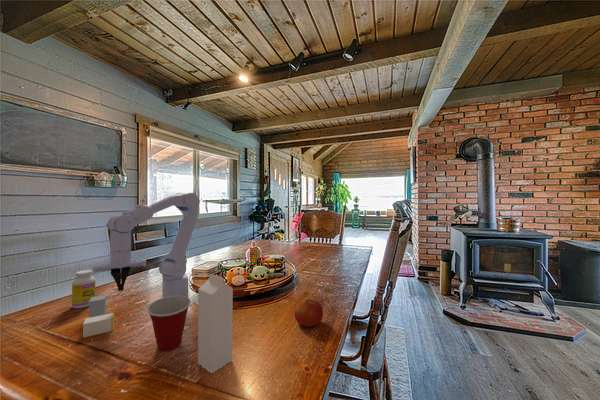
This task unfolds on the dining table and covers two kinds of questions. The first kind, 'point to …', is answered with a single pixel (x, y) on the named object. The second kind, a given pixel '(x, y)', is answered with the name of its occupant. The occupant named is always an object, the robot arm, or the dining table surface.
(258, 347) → the dining table surface
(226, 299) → the milk
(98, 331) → the cream block
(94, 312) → the grey block
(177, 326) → the plastic cup
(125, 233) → the robot arm
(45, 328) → the dining table surface
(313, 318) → the tomato
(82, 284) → the supplement bottle
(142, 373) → the dining table surface
